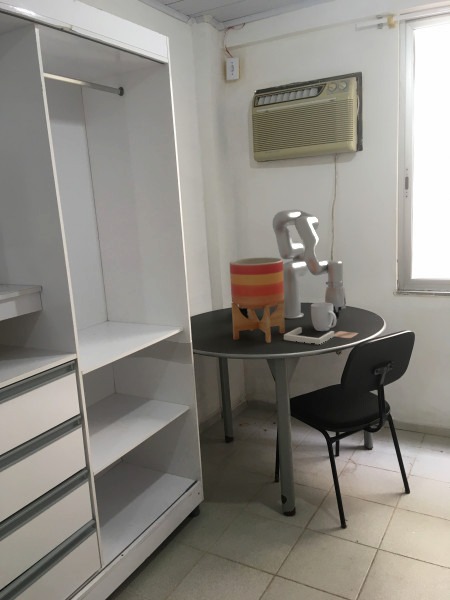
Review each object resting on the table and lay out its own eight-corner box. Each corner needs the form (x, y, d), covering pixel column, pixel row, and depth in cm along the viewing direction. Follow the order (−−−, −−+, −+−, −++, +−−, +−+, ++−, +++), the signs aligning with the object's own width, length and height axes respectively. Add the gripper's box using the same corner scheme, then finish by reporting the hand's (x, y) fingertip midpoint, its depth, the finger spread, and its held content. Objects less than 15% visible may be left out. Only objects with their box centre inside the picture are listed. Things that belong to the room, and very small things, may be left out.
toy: (255, 300, 306) (251, 308, 277) (255, 311, 307) (252, 320, 278) (236, 301, 308) (230, 309, 279) (236, 311, 309) (231, 321, 280)
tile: (330, 336, 239) (330, 336, 239) (339, 331, 246) (339, 331, 246) (350, 338, 233) (350, 338, 233) (358, 333, 241) (358, 333, 240)
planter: (242, 346, 230) (238, 266, 223) (226, 333, 256) (221, 260, 248) (295, 339, 237) (293, 260, 230) (274, 326, 263) (271, 255, 256)
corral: (283, 339, 237) (283, 334, 237) (299, 332, 249) (299, 327, 249) (320, 344, 226) (320, 339, 226) (334, 336, 238) (334, 331, 238)
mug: (343, 331, 246) (343, 305, 244) (327, 335, 241) (327, 309, 238) (322, 325, 259) (321, 301, 256) (306, 329, 253) (306, 304, 250)
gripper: (319, 285, 259) (319, 318, 263) (346, 286, 251) (346, 321, 254) (325, 282, 265) (325, 315, 269) (351, 284, 256) (352, 318, 260)
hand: (335, 318), depth 261 cm, fingers closed
